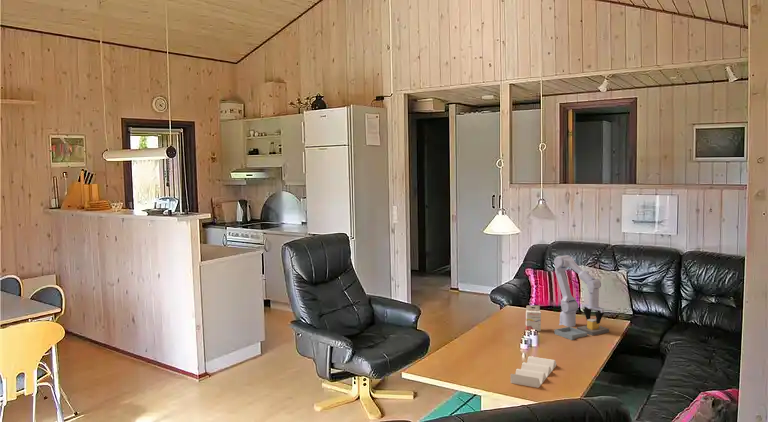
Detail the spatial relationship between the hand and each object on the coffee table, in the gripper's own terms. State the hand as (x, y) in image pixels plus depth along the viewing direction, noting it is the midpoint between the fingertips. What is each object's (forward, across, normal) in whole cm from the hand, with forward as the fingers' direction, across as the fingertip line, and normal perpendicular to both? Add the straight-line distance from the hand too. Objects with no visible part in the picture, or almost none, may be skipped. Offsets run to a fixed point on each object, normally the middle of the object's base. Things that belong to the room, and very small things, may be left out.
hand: (593, 321), depth 360 cm
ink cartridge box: (+7, -22, -27) cm, 36 cm away
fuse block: (+6, 0, 0) cm, 7 cm away
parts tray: (+6, -2, -16) cm, 17 cm away
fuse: (+6, 0, 0) cm, 6 cm away
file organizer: (+8, +36, -78) cm, 86 cm away
